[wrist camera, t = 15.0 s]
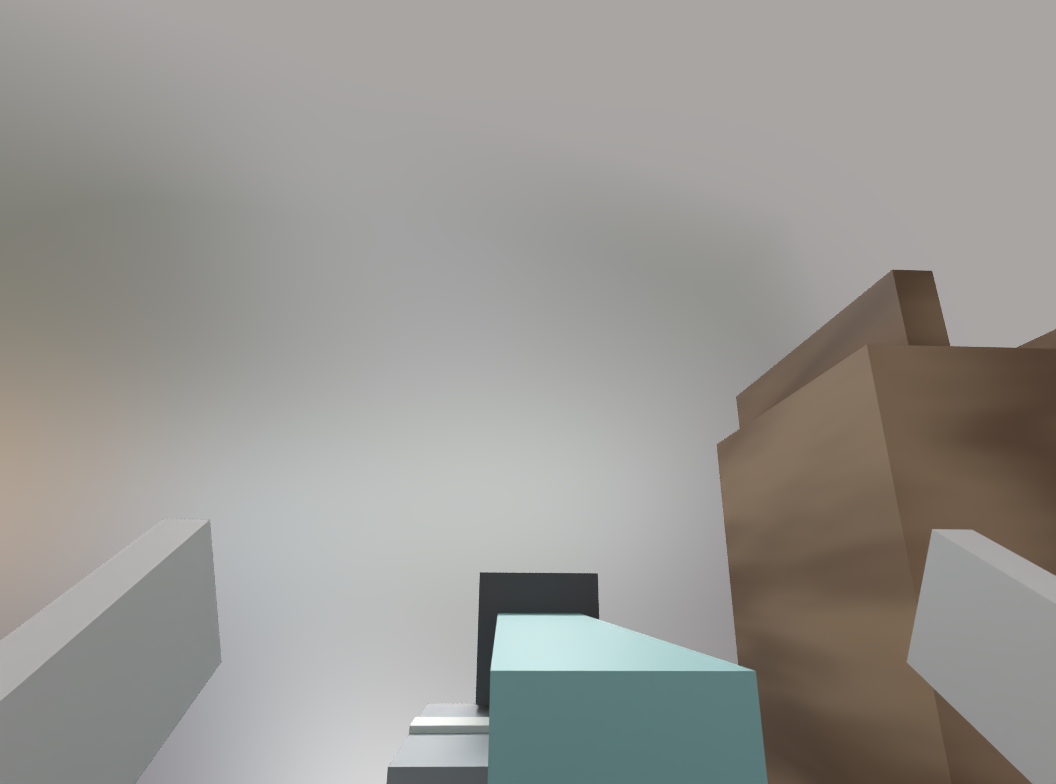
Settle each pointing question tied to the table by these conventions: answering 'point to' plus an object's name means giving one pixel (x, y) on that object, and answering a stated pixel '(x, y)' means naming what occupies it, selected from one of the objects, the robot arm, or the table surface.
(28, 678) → the robot arm
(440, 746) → the band block
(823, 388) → the post
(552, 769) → the teal square rod
